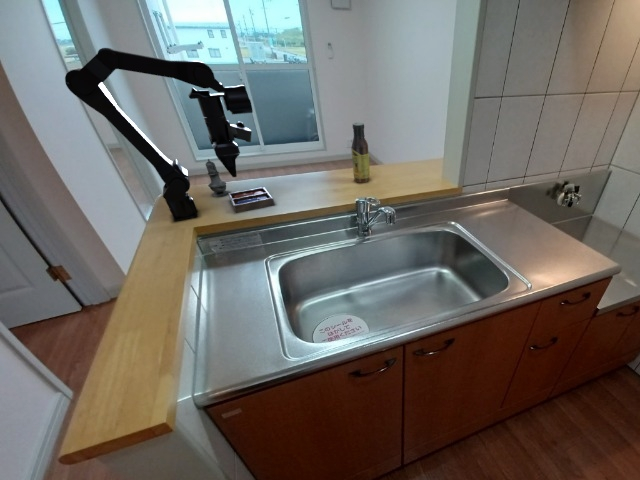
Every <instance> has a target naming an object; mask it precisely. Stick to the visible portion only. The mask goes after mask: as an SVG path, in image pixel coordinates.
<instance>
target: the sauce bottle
mask: <svg viewBox="0 0 640 480" xmlns="http://www.w3.org/2000/svg"><path fill="white" fill-rule="evenodd" d="M352 129H353V139H352V143H351V148H350V149H351V162H352V172H353V173H352V174H353V179H354V181H355V182H357V183H358V184H359V183H363V184H364V183H368V182H369V181H370V179H371V171H370V170H371V169H370V153H369V144H368V143H369V142H368V141H367V140H366V138H365V122H364V123H363V122H354V123H352Z"/></svg>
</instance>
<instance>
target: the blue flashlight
mask: <svg viewBox="0 0 640 480" xmlns="http://www.w3.org/2000/svg"><path fill="white" fill-rule="evenodd" d="M262 199H267V197H266V196H261V197H258V198H253V199H248V200H243V201H238V202H237V204H242V203H247V202H252V201H257V200H262Z"/></svg>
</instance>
